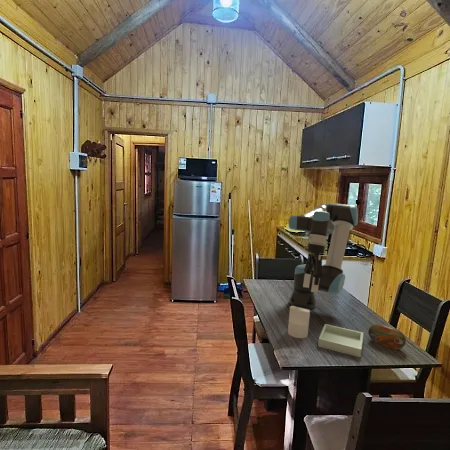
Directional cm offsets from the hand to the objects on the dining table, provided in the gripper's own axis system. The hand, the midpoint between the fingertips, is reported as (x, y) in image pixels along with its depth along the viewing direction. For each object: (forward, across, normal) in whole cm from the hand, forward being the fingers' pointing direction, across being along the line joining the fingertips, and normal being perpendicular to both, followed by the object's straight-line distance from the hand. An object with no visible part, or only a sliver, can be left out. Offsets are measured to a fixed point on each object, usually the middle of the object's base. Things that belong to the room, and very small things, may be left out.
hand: (309, 289), depth 149 cm
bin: (+20, +6, +16) cm, 26 cm away
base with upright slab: (+21, -2, -2) cm, 21 cm away
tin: (+18, +6, +36) cm, 40 cm away
